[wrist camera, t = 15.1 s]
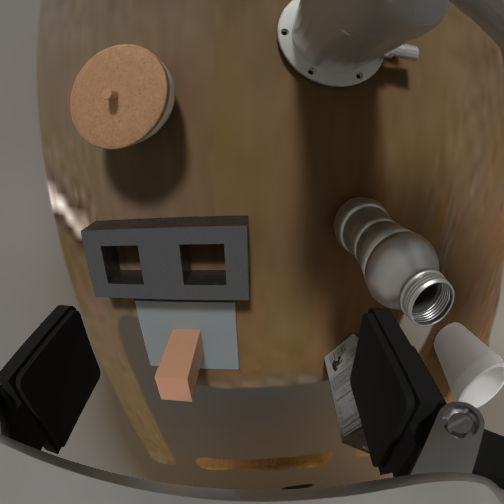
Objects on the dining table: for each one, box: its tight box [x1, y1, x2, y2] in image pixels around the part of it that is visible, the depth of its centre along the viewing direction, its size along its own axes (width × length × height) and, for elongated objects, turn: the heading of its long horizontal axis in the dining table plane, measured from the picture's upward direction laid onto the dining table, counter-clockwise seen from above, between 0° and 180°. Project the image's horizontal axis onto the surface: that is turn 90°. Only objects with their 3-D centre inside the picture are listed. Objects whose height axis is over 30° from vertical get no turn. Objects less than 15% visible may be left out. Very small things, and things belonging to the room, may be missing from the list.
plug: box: [155, 329, 203, 402], centre depth 39 cm, size 4×4×10 cm
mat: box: [135, 299, 239, 370], centre depth 44 cm, size 14×12×1 cm
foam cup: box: [433, 322, 504, 408], centre depth 38 cm, size 10×9×13 cm
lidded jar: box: [70, 44, 175, 150], centre depth 28 cm, size 11×11×9 cm
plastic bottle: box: [334, 197, 455, 327], centre depth 28 cm, size 6×7×20 cm
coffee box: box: [324, 334, 370, 454], centre depth 38 cm, size 9×6×16 cm
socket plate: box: [81, 216, 250, 300], centre depth 37 cm, size 20×9×4 cm, turn 91°
